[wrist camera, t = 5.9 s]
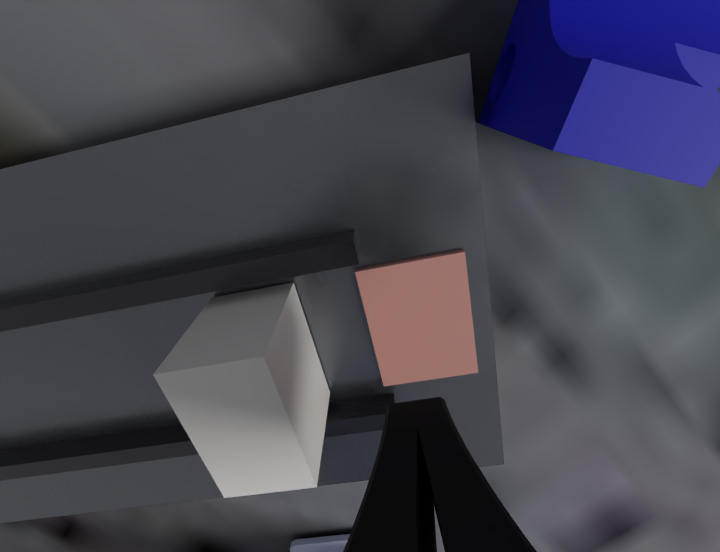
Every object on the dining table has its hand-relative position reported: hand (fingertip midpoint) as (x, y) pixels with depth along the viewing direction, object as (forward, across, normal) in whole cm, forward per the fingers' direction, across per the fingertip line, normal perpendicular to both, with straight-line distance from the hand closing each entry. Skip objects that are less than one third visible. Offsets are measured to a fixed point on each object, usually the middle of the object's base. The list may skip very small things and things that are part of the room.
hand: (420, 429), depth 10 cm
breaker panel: (+6, +11, 0) cm, 13 cm away
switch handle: (+5, +5, 0) cm, 7 cm away
